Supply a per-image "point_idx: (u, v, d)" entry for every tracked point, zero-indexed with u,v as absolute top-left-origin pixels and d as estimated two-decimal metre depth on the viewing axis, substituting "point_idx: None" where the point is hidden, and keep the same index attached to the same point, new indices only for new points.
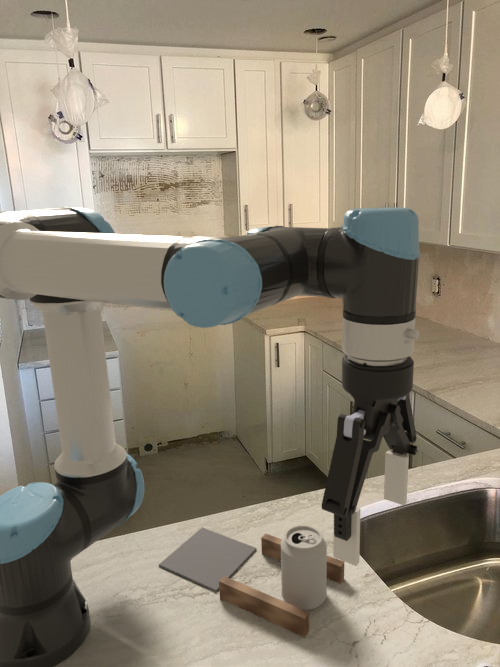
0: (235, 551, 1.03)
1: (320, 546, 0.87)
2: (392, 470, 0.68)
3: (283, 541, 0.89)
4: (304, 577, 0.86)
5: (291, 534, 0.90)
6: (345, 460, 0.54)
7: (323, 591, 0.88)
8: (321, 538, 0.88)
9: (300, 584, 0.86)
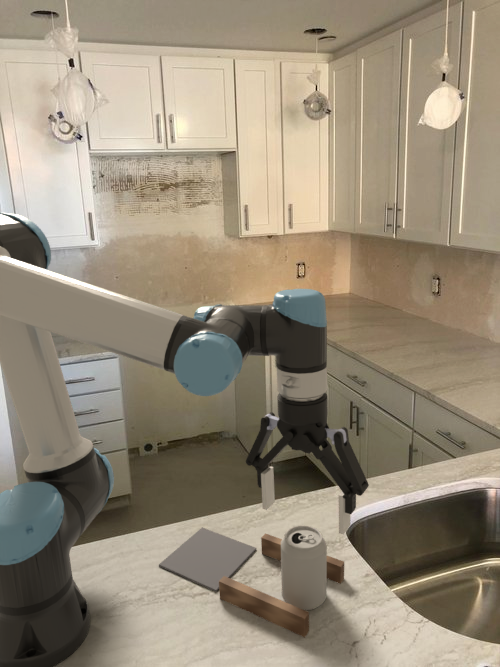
0: (235, 551, 1.03)
1: (320, 546, 0.87)
2: None
3: (283, 541, 0.89)
4: (304, 577, 0.86)
5: (291, 534, 0.90)
6: None
7: (323, 591, 0.88)
8: (321, 538, 0.88)
9: (300, 584, 0.86)
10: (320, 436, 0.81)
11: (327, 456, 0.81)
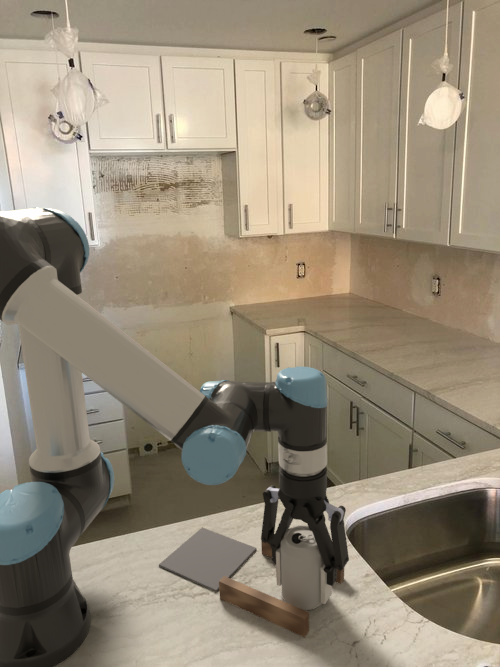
0: (235, 551, 1.03)
1: None
2: None
3: (283, 541, 0.89)
4: (304, 577, 0.86)
5: (291, 534, 0.90)
6: None
7: None
8: None
9: (300, 584, 0.86)
10: (319, 509, 0.84)
11: (320, 530, 0.85)
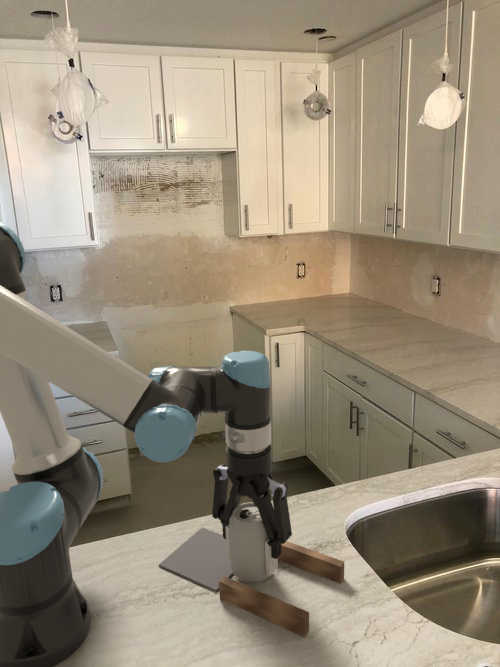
0: None
1: None
2: None
3: (231, 516, 0.94)
4: (250, 550, 0.91)
5: (240, 510, 0.94)
6: None
7: None
8: None
9: (246, 557, 0.91)
10: (263, 485, 0.89)
11: (264, 506, 0.90)
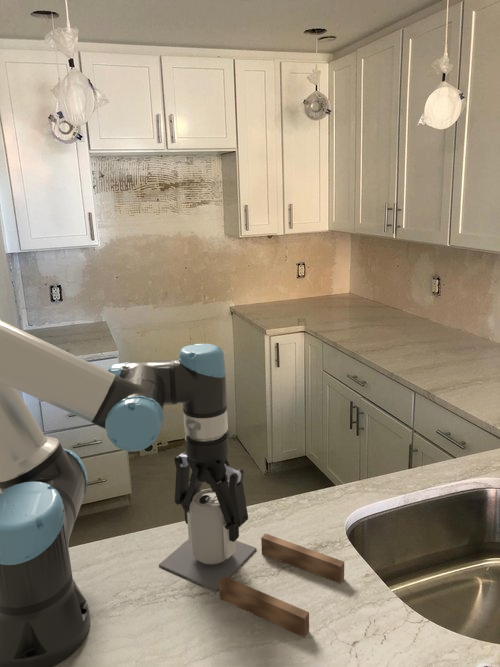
0: (235, 551, 1.03)
1: None
2: None
3: (192, 502, 0.98)
4: (208, 533, 0.95)
5: (200, 496, 0.99)
6: None
7: None
8: None
9: (205, 539, 0.96)
10: (219, 471, 0.93)
11: (221, 491, 0.95)
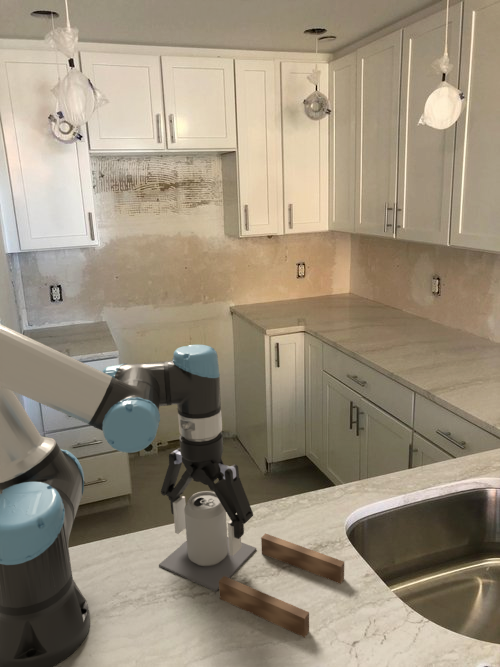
0: None
1: (218, 508, 0.97)
2: None
3: (187, 504, 0.99)
4: (203, 535, 0.96)
5: (195, 498, 1.00)
6: None
7: (222, 549, 0.99)
8: None
9: (200, 542, 0.97)
10: (214, 471, 0.94)
11: (220, 488, 0.95)
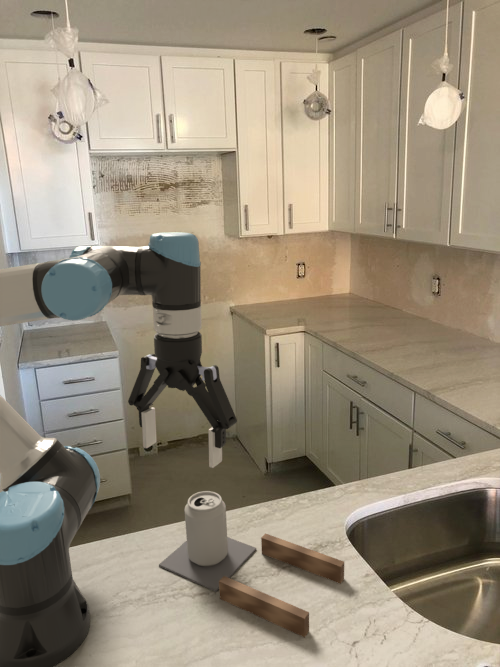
0: (235, 551, 1.03)
1: (218, 508, 0.97)
2: None
3: (187, 504, 0.99)
4: (203, 535, 0.96)
5: (195, 498, 1.00)
6: None
7: (222, 549, 0.99)
8: (220, 501, 0.98)
9: (200, 542, 0.97)
10: (192, 373, 0.85)
11: (199, 392, 0.86)
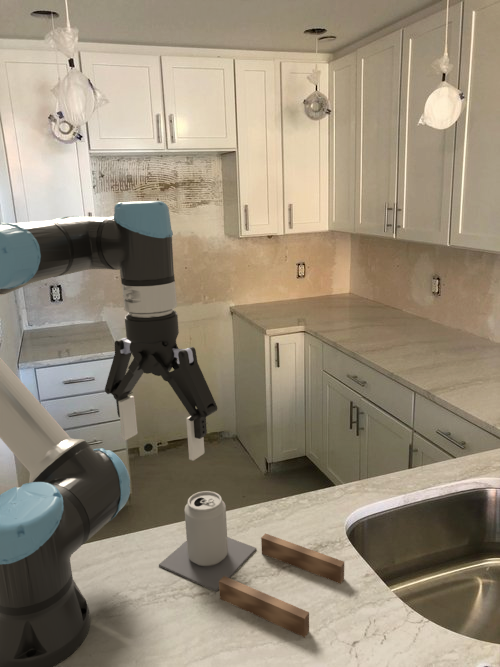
0: (235, 551, 1.03)
1: (218, 508, 0.97)
2: None
3: (187, 504, 0.99)
4: (203, 535, 0.96)
5: (195, 498, 1.00)
6: None
7: (222, 549, 0.99)
8: (220, 501, 0.98)
9: (200, 542, 0.97)
10: (167, 356, 0.77)
11: (175, 377, 0.78)
